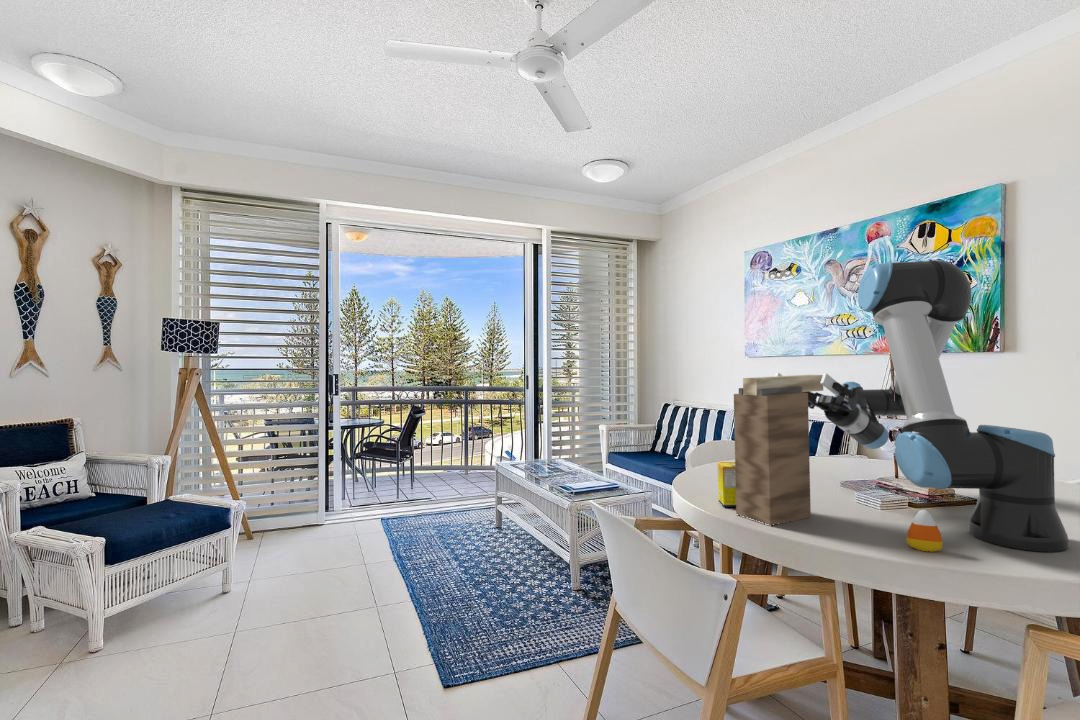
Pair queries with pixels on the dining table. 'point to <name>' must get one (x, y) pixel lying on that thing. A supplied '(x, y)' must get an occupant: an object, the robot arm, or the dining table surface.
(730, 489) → the supplement box
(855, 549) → the dining table surface
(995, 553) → the dining table surface
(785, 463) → the walnut stand
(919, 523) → the candy corn
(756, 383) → the maple bar
